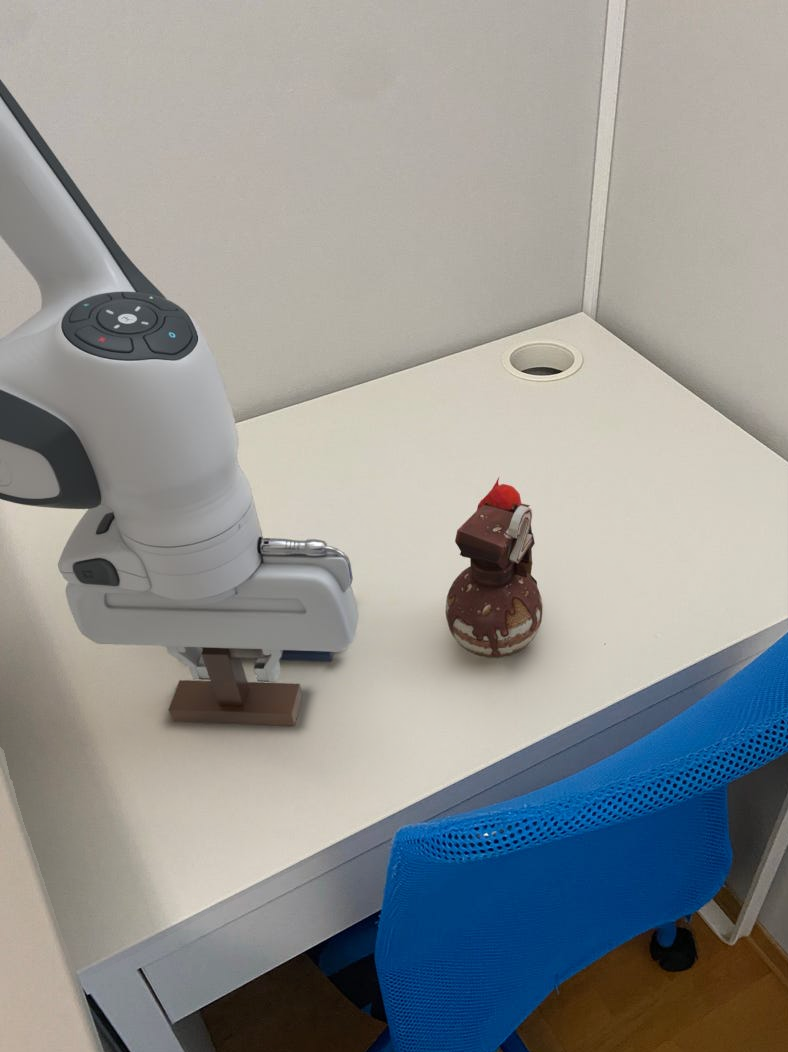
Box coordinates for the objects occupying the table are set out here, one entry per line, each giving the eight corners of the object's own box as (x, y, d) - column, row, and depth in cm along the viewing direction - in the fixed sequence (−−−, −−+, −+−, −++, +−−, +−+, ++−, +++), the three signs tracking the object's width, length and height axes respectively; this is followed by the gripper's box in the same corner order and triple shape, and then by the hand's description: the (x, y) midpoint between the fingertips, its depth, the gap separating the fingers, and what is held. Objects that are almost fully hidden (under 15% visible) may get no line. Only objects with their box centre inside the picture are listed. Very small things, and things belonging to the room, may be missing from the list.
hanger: (172, 721, 76) (146, 657, 70) (184, 691, 78) (159, 627, 72) (294, 725, 75) (277, 661, 69) (302, 695, 77) (286, 630, 72)
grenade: (479, 590, 86) (474, 452, 75) (561, 616, 83) (569, 477, 72) (431, 659, 80) (419, 520, 69) (518, 689, 77) (520, 550, 66)
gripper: (354, 512, 65) (374, 649, 75) (67, 506, 66) (125, 641, 76) (339, 573, 61) (362, 710, 71) (32, 565, 62) (98, 701, 72)
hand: (237, 674), depth 73 cm, fingers closed on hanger, 4 cm apart
